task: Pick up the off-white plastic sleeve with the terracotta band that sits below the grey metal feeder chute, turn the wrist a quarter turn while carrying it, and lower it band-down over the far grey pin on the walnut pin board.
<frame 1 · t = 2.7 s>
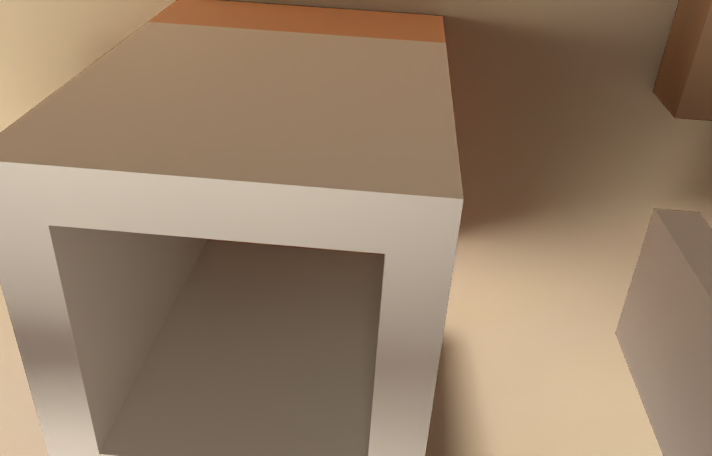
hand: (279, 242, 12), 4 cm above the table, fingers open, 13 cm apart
sleeve: (308, 129, 16), on the table
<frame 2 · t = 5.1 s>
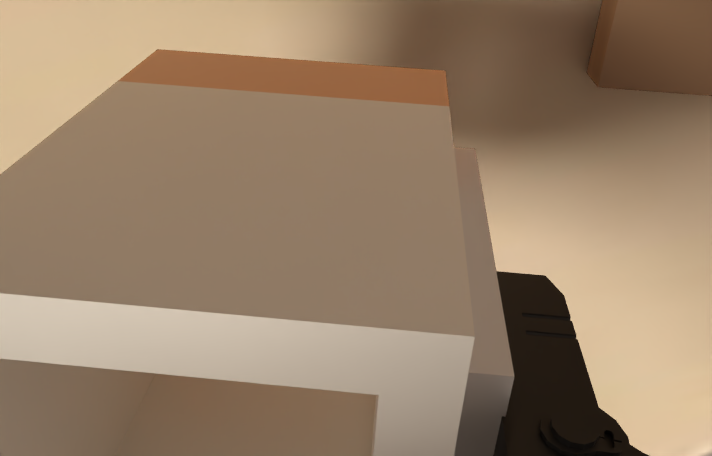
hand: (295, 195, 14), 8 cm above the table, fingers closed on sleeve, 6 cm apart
sleeve: (298, 189, 14), point 8 cm above the table, touching gripper
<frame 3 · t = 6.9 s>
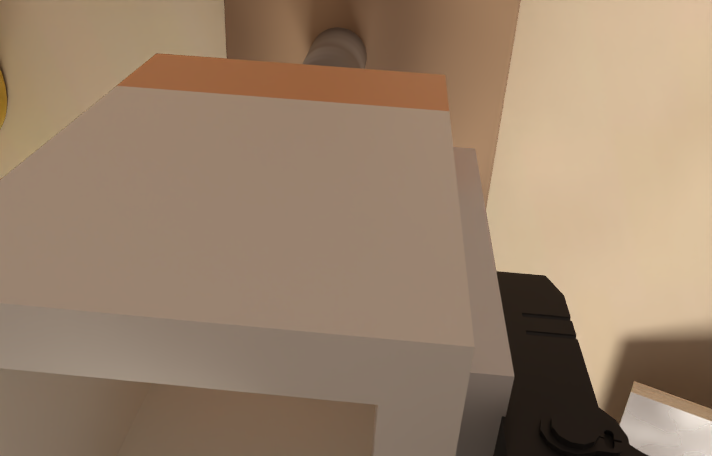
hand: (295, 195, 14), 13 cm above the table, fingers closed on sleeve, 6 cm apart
feeder chute: (709, 413, 33), on the table
pin board: (364, 123, 27), on the table
sleeve: (298, 193, 14), point 12 cm above the table, touching gripper
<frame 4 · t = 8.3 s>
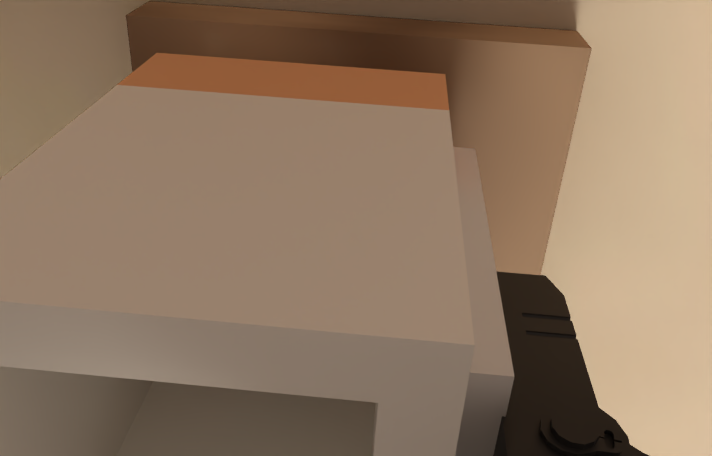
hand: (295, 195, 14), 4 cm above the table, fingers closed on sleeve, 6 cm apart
pin board: (348, 236, 19), on the table
sleeve: (298, 192, 14), point 3 cm above the table, touching gripper
when the fingers open (3 cm above the table, at t = 9.0 s): sleeve drops 2 cm, resting on pin board.
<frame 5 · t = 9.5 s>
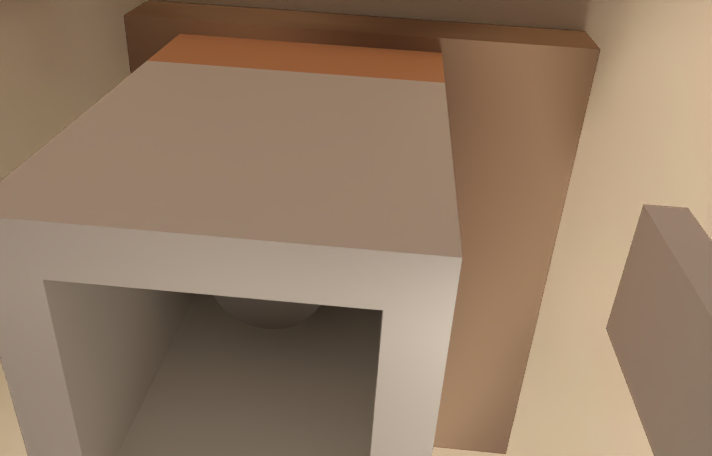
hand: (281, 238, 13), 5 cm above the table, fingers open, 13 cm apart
pin board: (351, 240, 18), on the table
sleeve: (307, 163, 16), point 1 cm above the table, touching pin board
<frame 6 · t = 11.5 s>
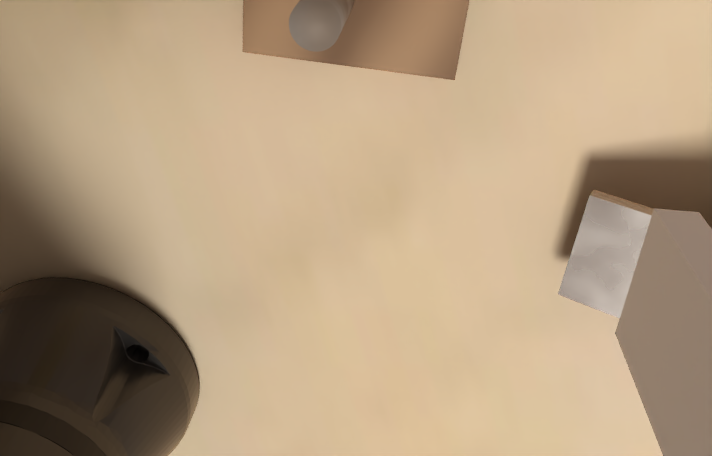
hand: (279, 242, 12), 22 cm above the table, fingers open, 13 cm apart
feeder chute: (662, 237, 36), on the table
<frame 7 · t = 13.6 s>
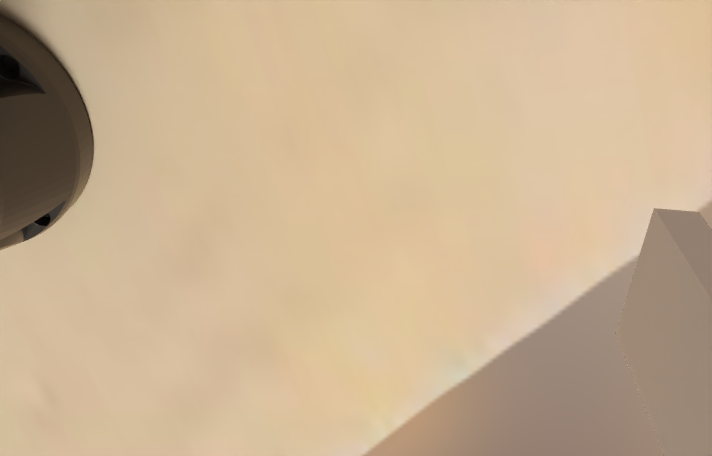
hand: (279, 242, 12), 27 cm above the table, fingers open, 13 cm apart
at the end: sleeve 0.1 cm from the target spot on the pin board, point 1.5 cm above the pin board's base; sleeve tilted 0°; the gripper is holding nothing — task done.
